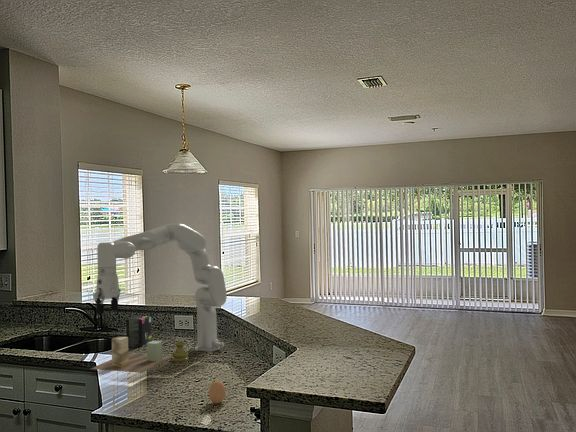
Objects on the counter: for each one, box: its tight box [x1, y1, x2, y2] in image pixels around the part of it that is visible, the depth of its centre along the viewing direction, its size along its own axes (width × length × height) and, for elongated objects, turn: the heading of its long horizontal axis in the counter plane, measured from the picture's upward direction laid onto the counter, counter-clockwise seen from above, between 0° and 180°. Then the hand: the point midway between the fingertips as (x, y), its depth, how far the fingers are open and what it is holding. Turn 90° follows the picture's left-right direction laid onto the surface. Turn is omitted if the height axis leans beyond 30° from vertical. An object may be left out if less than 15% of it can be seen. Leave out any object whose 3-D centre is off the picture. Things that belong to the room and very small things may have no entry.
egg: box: [208, 380, 227, 404], centre depth 189 cm, size 6×6×8 cm
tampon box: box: [125, 315, 153, 348], centre depth 279 cm, size 11×9×15 cm
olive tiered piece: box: [171, 340, 190, 363], centre depth 243 cm, size 7×7×10 cm
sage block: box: [146, 340, 163, 361], centre depth 245 cm, size 5×5×8 cm
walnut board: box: [89, 352, 173, 374], centre depth 241 cm, size 26×28×1 cm
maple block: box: [111, 336, 129, 367], centre depth 236 cm, size 5×5×12 cm
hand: (107, 311), depth 228 cm, fingers open, 9 cm apart
